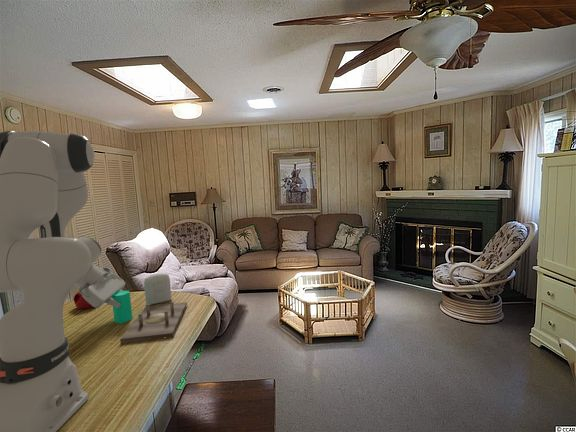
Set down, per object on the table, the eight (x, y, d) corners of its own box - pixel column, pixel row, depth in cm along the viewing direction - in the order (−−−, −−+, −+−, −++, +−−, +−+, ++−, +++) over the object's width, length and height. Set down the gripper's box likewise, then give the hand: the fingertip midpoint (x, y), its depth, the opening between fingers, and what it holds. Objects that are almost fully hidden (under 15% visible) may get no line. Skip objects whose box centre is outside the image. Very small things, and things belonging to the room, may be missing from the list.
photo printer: (170, 297, 134) (167, 270, 132) (172, 300, 130) (170, 272, 129) (145, 303, 128) (142, 275, 127) (146, 306, 125) (143, 278, 123)
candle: (126, 322, 110) (123, 291, 109) (111, 323, 110) (107, 292, 109) (135, 315, 116) (132, 286, 115) (120, 316, 116) (116, 286, 115)
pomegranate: (85, 302, 134) (83, 282, 133) (107, 301, 133) (105, 281, 132) (68, 311, 124) (65, 289, 123) (91, 310, 123) (89, 288, 123)
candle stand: (172, 337, 98) (171, 321, 97) (120, 343, 95) (118, 327, 95) (186, 305, 123) (185, 293, 123) (146, 310, 121) (144, 297, 120)
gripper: (83, 282, 100) (117, 307, 102) (110, 266, 120) (138, 287, 122) (70, 296, 100) (105, 321, 102) (99, 278, 120) (128, 298, 122)
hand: (123, 302), depth 112 cm, fingers closed on candle, 5 cm apart
